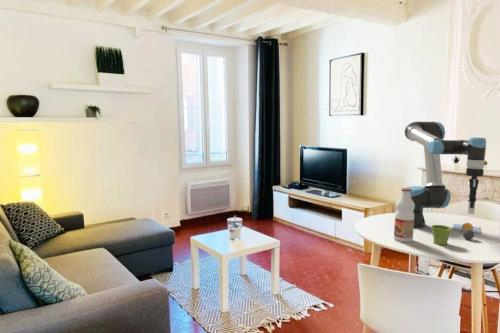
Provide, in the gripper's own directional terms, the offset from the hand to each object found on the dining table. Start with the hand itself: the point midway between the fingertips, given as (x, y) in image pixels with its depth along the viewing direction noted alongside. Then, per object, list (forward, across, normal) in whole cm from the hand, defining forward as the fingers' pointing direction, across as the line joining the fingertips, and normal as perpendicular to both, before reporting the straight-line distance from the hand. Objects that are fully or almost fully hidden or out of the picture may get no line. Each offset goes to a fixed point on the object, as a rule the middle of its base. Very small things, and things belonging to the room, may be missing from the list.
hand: (471, 213), depth 191 cm
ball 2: (+14, +10, 0) cm, 17 cm away
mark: (+16, +32, 0) cm, 36 cm away
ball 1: (+14, +24, 0) cm, 27 cm away
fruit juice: (+17, -10, +30) cm, 36 cm away
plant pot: (+17, -6, +13) cm, 22 cm away
